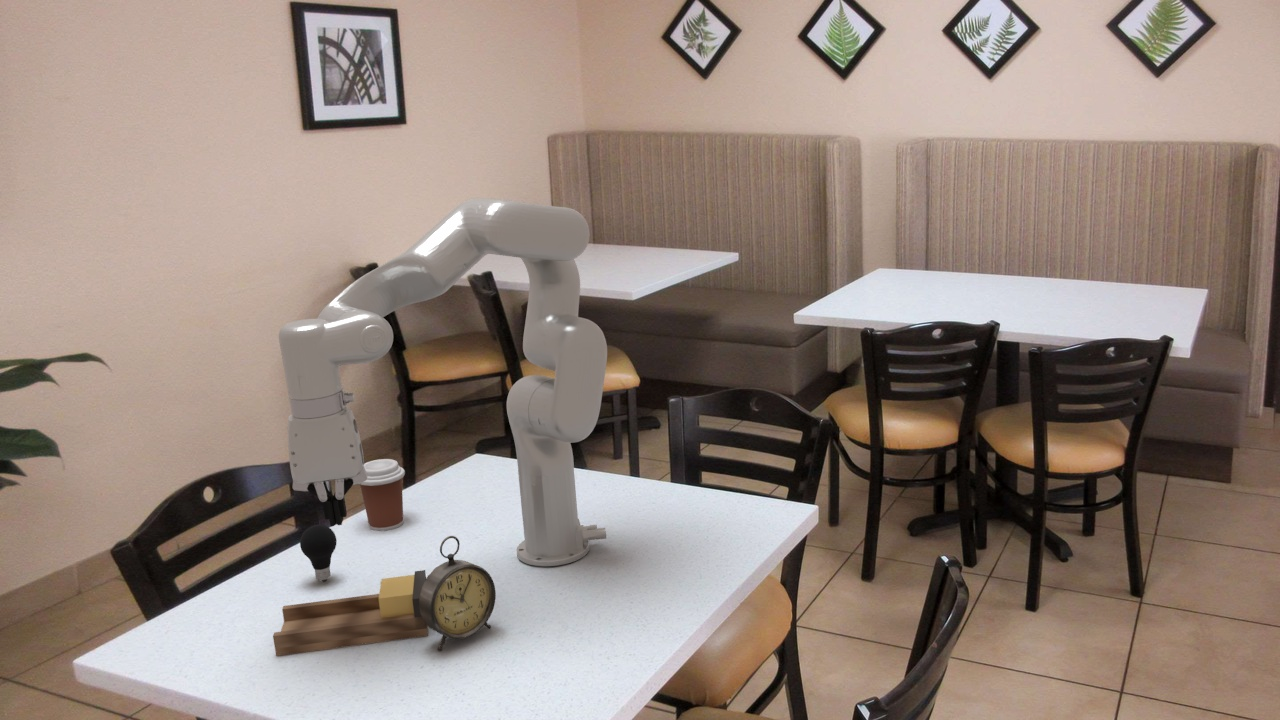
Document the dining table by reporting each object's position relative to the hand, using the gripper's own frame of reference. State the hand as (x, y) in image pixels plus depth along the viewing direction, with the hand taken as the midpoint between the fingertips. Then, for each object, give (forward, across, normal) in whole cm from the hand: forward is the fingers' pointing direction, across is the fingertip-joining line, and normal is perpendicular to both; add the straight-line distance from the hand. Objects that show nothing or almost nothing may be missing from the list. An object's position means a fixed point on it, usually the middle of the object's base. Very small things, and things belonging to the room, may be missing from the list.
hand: (337, 522), depth 163 cm
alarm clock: (+18, -16, +8) cm, 25 cm away
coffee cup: (+18, -2, -42) cm, 46 cm away
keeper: (+16, -7, 0) cm, 18 cm away
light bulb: (+18, +7, -20) cm, 27 cm away
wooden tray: (+18, 0, 0) cm, 18 cm away
